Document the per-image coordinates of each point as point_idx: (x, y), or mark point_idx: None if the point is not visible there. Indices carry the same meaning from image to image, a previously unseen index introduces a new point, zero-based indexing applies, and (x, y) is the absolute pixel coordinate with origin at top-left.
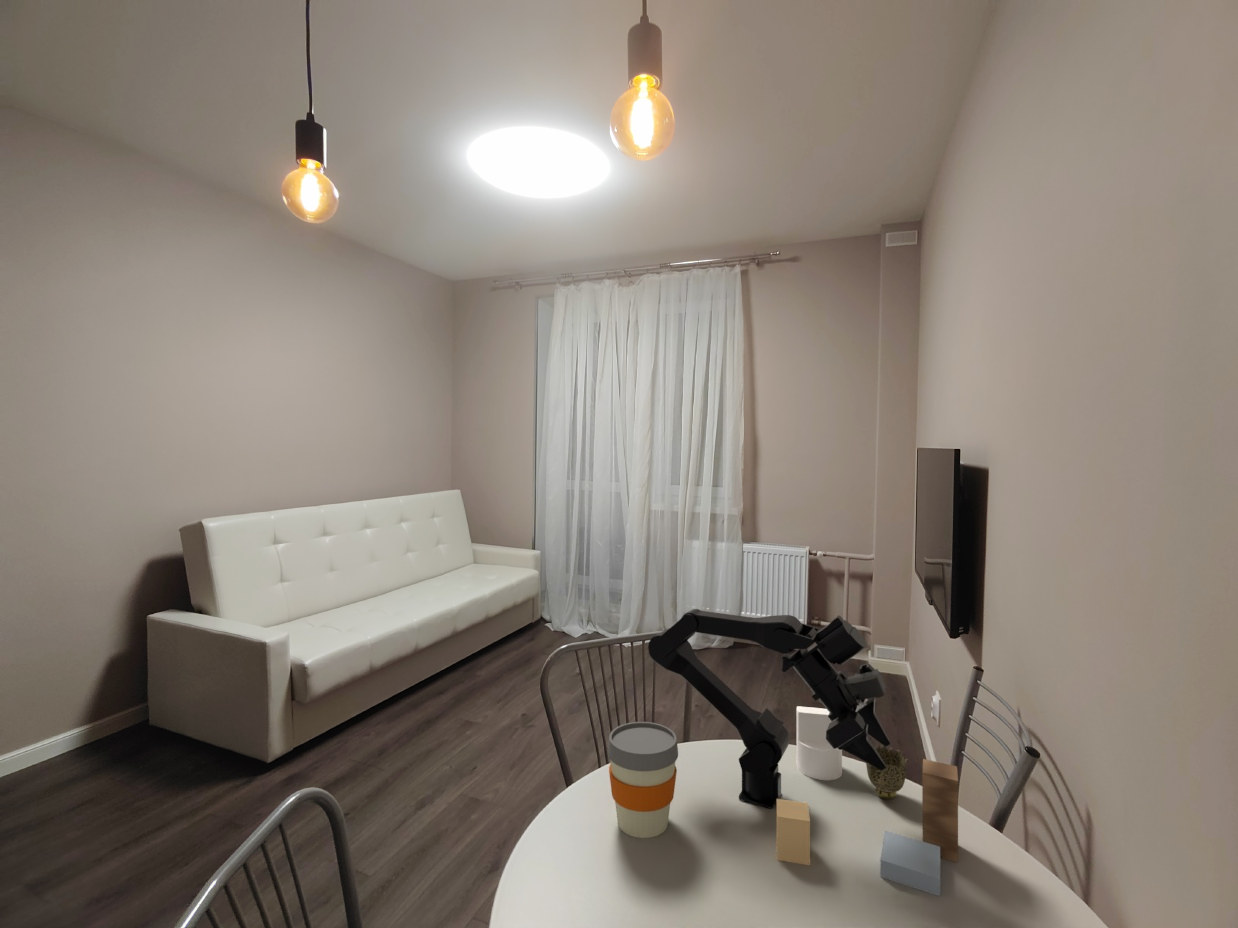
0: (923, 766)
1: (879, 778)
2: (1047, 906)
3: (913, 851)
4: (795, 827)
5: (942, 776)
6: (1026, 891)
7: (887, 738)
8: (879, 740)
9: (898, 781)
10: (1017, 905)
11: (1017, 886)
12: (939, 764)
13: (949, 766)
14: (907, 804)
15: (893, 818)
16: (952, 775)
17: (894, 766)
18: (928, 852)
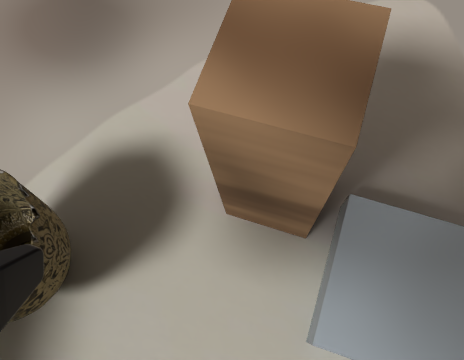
0: (278, 124)
1: (44, 293)
2: (423, 41)
3: (399, 279)
4: None
5: (369, 62)
6: (388, 61)
7: (12, 259)
8: (4, 317)
9: (59, 227)
10: (443, 92)
11: (376, 71)
12: (238, 44)
13: (248, 8)
14: (87, 215)
15: (161, 276)
16: (342, 18)
17: (36, 231)
18: (391, 235)
